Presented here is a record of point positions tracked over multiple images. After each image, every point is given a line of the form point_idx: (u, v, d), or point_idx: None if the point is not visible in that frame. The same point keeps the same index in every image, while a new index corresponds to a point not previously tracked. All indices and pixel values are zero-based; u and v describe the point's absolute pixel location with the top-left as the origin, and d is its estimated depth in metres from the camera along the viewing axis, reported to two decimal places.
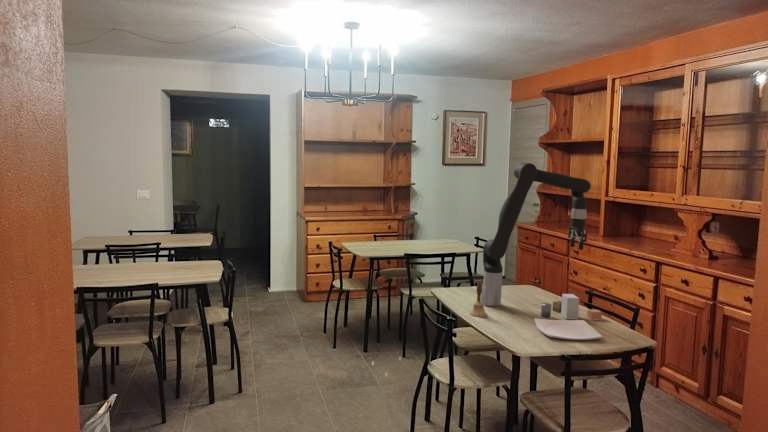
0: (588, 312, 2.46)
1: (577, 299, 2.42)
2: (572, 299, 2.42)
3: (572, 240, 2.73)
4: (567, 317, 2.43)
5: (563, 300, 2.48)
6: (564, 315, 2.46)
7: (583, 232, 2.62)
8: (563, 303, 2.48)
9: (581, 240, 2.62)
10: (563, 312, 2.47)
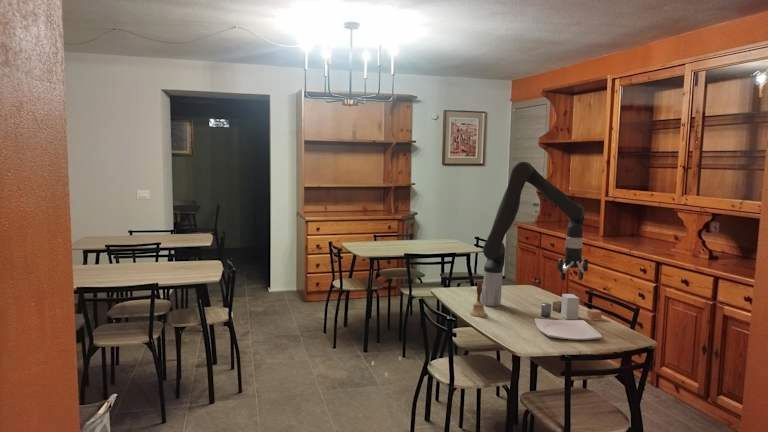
0: (588, 312, 2.46)
1: (577, 299, 2.42)
2: (572, 299, 2.42)
3: None
4: (567, 317, 2.43)
5: (563, 300, 2.48)
6: (564, 315, 2.46)
7: None
8: (563, 303, 2.48)
9: (587, 269, 2.44)
10: (563, 312, 2.47)
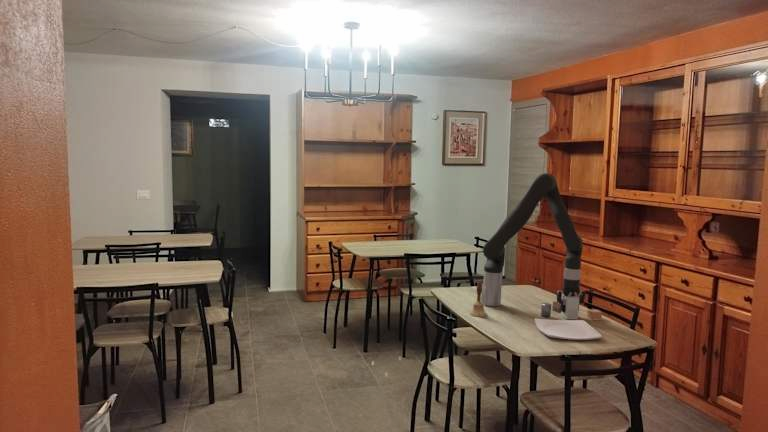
0: (588, 312, 2.46)
1: (577, 299, 2.42)
2: (572, 299, 2.42)
3: None
4: (567, 317, 2.43)
5: None
6: (564, 315, 2.45)
7: None
8: None
9: (583, 302, 2.45)
10: None
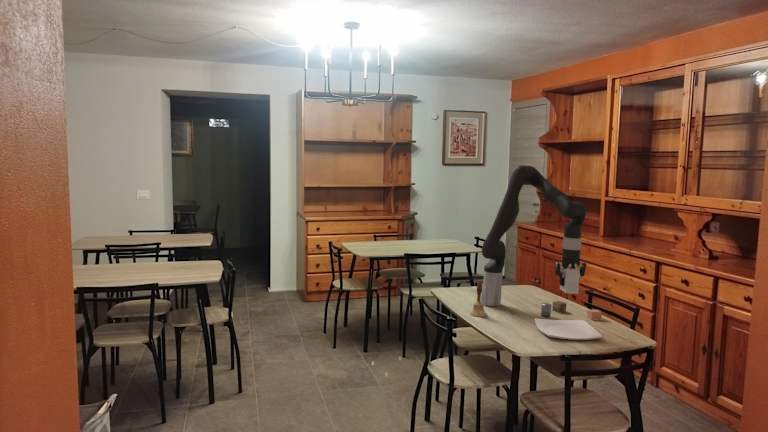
0: (588, 312, 2.46)
1: (577, 271, 2.21)
2: (572, 271, 2.21)
3: None
4: (567, 291, 2.22)
5: None
6: (563, 289, 2.24)
7: None
8: None
9: (583, 274, 2.25)
10: (562, 286, 2.26)
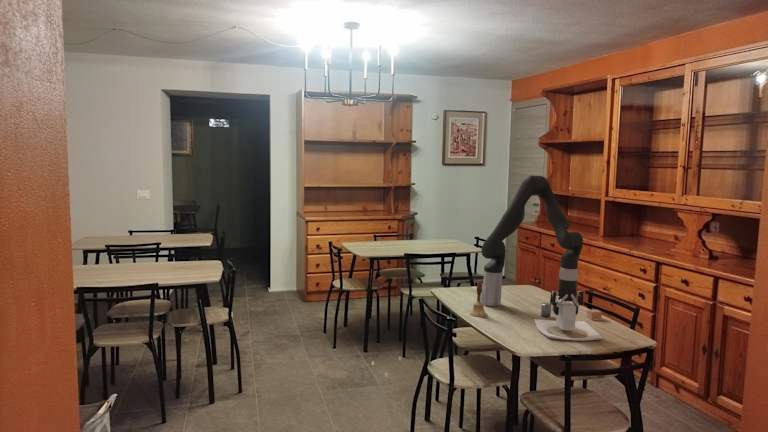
0: (588, 312, 2.46)
1: (574, 307, 2.20)
2: (568, 307, 2.20)
3: None
4: (563, 327, 2.21)
5: None
6: (559, 325, 2.24)
7: None
8: None
9: (582, 303, 2.23)
10: (558, 322, 2.25)
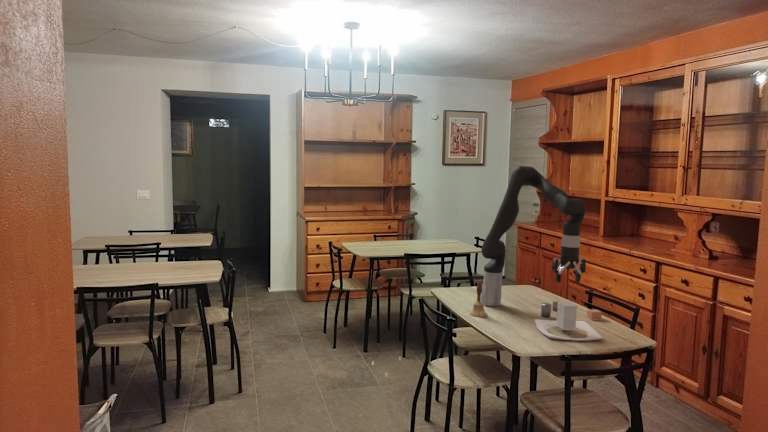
0: (588, 312, 2.46)
1: (574, 307, 2.20)
2: (569, 307, 2.20)
3: None
4: (564, 327, 2.21)
5: (558, 308, 2.26)
6: (560, 325, 2.24)
7: None
8: (559, 311, 2.26)
9: (584, 271, 2.22)
10: (559, 322, 2.25)
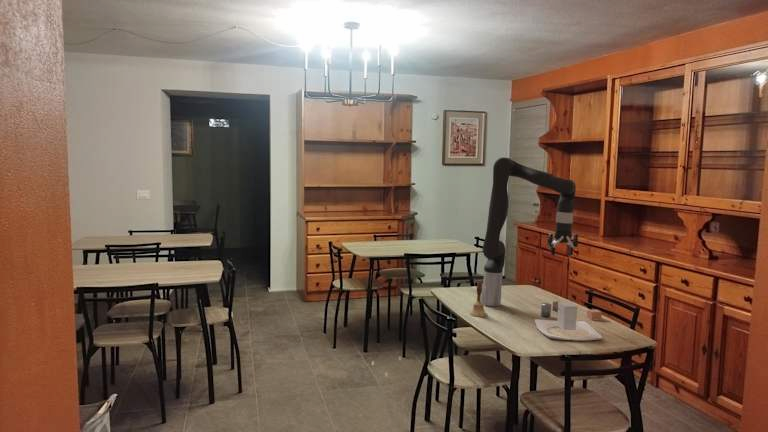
0: (588, 312, 2.46)
1: (575, 308, 2.20)
2: (569, 308, 2.20)
3: None
4: (564, 327, 2.21)
5: (559, 308, 2.26)
6: (561, 325, 2.23)
7: None
8: (559, 312, 2.26)
9: (576, 245, 2.45)
10: (559, 322, 2.25)
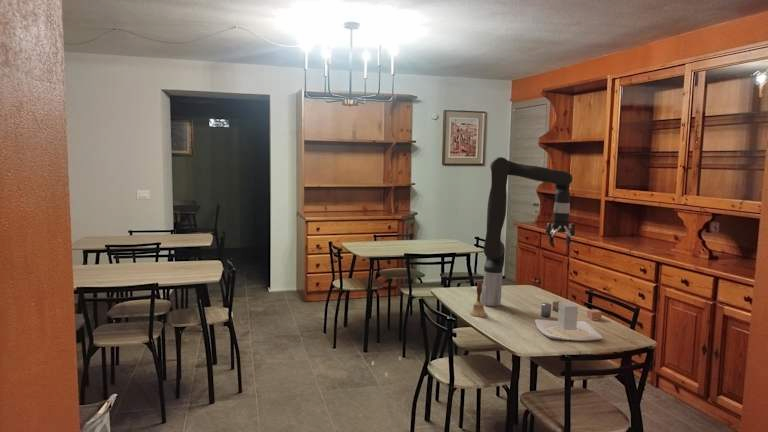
0: (588, 312, 2.46)
1: (575, 308, 2.20)
2: (570, 308, 2.20)
3: None
4: (564, 328, 2.21)
5: (559, 309, 2.26)
6: (561, 325, 2.23)
7: None
8: (559, 312, 2.26)
9: (574, 234, 2.56)
10: (560, 322, 2.25)
